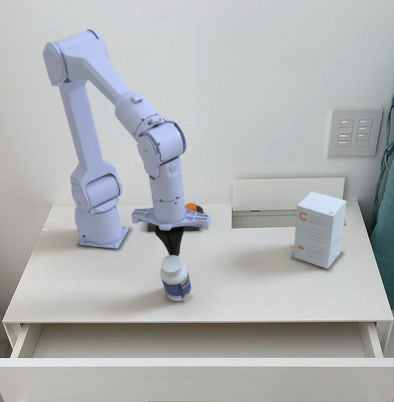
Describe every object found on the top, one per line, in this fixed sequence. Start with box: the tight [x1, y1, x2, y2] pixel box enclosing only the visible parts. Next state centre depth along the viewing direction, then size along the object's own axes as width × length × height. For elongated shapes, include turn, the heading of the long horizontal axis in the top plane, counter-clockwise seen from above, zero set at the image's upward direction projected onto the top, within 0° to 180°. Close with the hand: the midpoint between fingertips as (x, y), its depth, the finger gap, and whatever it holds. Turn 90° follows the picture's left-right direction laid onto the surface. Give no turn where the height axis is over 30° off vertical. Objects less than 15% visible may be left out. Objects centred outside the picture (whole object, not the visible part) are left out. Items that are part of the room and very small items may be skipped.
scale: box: [147, 204, 204, 232], centre depth 134 cm, size 13×7×3 cm, turn 85°
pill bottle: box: [159, 254, 192, 302], centre depth 112 cm, size 5×5×10 cm
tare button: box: [185, 202, 197, 212], centre depth 132 cm, size 3×3×2 cm
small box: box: [293, 190, 348, 270], centre depth 118 cm, size 8×6×13 cm
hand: (175, 255), depth 111 cm, fingers closed
